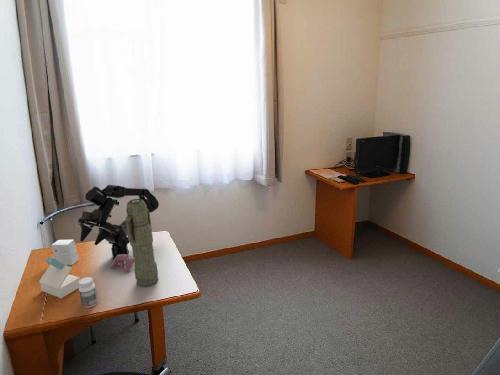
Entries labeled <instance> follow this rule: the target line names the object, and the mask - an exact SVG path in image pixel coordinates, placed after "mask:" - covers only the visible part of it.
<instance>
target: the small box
mask: <svg viewBox="0 0 500 375" xmlns="http://www.w3.org/2000/svg"><path fill="white" fill-rule="evenodd" d="M51 250H52V253H53V258H54V259H56V260H57V261H59V262H61V263H62V264H64V265H67V266H73V265H74V264H75V263H76V262H77V261H79V255H78V250H77V246H76V241H75V239H58V240H56V241H55V242H54V243H52V244H51Z"/></svg>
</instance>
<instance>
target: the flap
mask: <svg viewBox="0 0 500 375" xmlns="http://www.w3.org/2000/svg"><path fill="white" fill-rule="evenodd" d="M44 262H45V263H47V264H48V265H49V266H48V267H47V269H46V270H45V272H44V273H43V274H42V276H41V278H40V279H39V281H38V282H39V284H40V283H43V284H46V285H49V286H51V287H54V288H57V289H59V288H60V287H61V285H62V284H63V282H64V280H65V279H66V277H67V276H68V274H70V273H71V271H72V269H73V267H72V266H71V265H64V264H62V263H61V262H59V261H57V260H56V259H55V257H50V256H47V258H46V259H45V260H44Z"/></svg>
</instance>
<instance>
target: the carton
mask: <svg viewBox="0 0 500 375" xmlns="http://www.w3.org/2000/svg"><path fill="white" fill-rule="evenodd" d="M80 280H81V278H80V277H79V276H76V275H72V274H70V273H69V274H68V276H67V277H66V279H65V280H64V282H63V284H62V285H61V287H60V288H59V289H57V288H54V287H51V286H49V285H46V284H43V283H40V282H39V284H40V288H41V292H44V293H46V294H49V295H51V296H53V297H56V298H59V299H63V298H64V297H66V296H68V295H69V294H71V293H73V292H74V291H76V290H79V287H80V286H79V281H80Z"/></svg>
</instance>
